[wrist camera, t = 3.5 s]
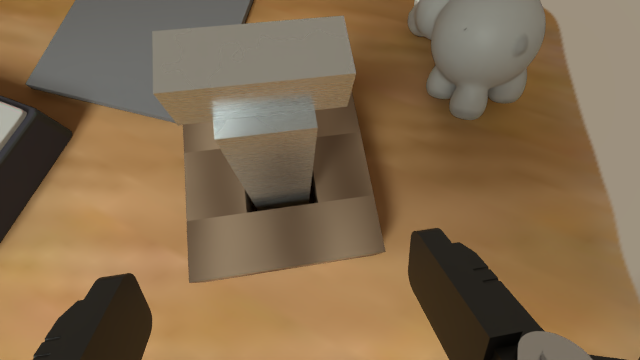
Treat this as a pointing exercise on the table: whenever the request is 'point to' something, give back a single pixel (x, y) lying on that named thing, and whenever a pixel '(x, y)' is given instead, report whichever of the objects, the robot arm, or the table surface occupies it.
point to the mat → (121, 49)
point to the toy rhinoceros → (478, 49)
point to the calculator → (25, 155)
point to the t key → (258, 95)
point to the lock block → (282, 223)
